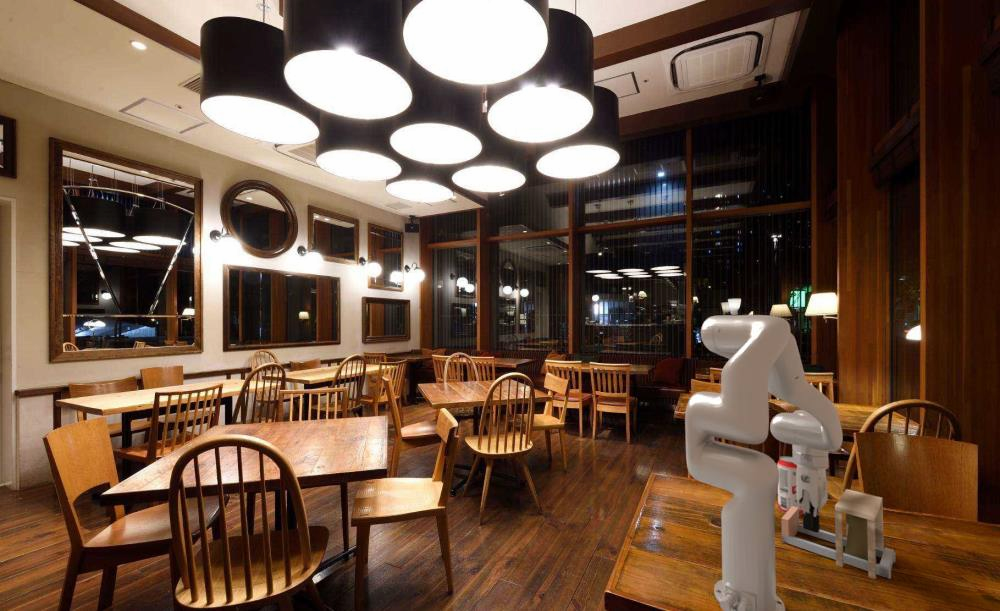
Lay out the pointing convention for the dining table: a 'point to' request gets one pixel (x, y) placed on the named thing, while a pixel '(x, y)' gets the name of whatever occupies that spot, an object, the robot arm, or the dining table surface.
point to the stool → (862, 508)
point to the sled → (793, 526)
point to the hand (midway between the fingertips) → (811, 529)
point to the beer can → (787, 485)
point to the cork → (857, 537)
